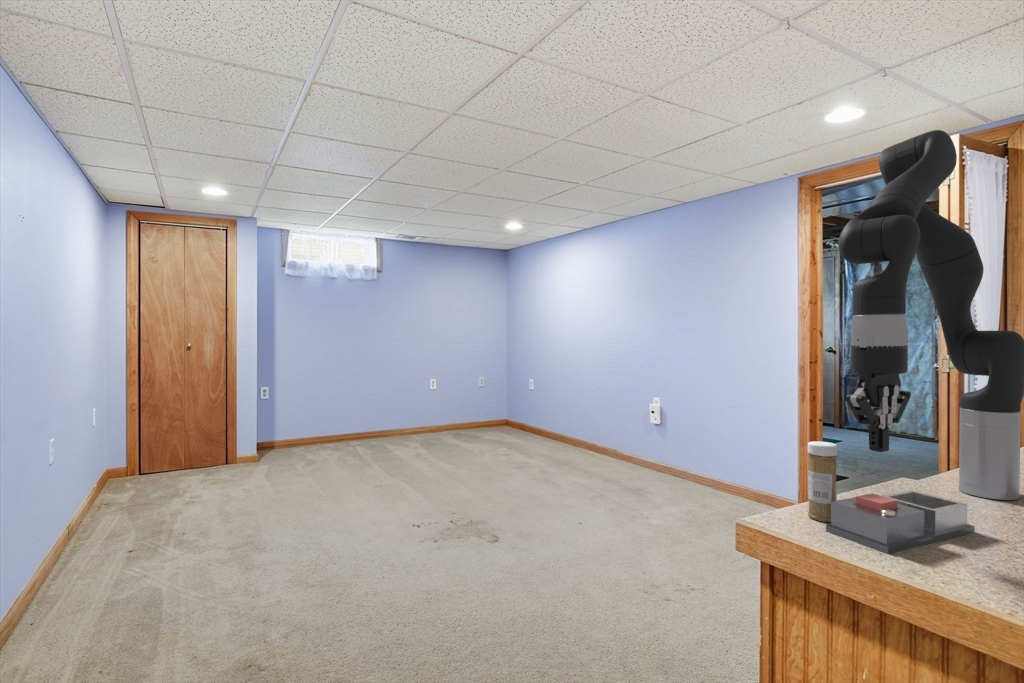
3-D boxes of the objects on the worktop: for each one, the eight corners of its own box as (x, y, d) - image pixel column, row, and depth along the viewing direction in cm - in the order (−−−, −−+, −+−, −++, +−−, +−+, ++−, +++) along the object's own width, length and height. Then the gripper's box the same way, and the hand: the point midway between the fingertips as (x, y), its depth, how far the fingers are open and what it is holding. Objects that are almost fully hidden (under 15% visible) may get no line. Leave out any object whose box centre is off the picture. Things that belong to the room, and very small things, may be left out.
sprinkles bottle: (841, 519, 94) (842, 443, 94) (828, 524, 92) (829, 446, 92) (815, 512, 98) (815, 439, 98) (802, 517, 96) (802, 442, 95)
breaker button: (871, 523, 89) (872, 493, 89) (897, 531, 85) (897, 500, 85) (855, 526, 87) (855, 496, 87) (880, 535, 84) (881, 503, 84)
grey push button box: (909, 513, 97) (909, 482, 97) (974, 532, 88) (974, 498, 88) (825, 531, 89) (826, 497, 89) (888, 553, 80) (888, 516, 80)
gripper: (881, 342, 92) (881, 442, 92) (828, 343, 86) (828, 450, 87) (930, 342, 85) (930, 451, 85) (875, 344, 79) (875, 460, 80)
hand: (878, 450), depth 86 cm, fingers closed
